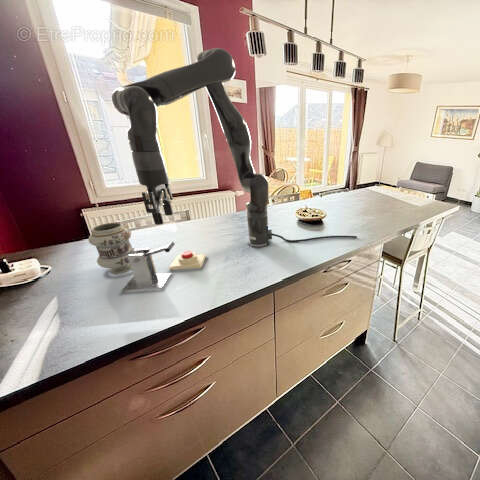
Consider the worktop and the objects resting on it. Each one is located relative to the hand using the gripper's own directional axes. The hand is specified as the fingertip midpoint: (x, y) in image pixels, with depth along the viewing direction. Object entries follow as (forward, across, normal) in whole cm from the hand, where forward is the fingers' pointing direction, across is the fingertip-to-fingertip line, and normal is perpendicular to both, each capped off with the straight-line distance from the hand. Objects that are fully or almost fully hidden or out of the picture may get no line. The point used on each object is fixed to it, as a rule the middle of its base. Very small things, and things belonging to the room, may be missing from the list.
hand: (164, 219), depth 78 cm
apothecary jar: (+24, +10, +23) cm, 34 cm away
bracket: (+23, -1, +10) cm, 25 cm away
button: (+20, +11, 0) cm, 23 cm away
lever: (+12, -1, +5) cm, 13 cm away
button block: (+24, +11, 0) cm, 26 cm away
